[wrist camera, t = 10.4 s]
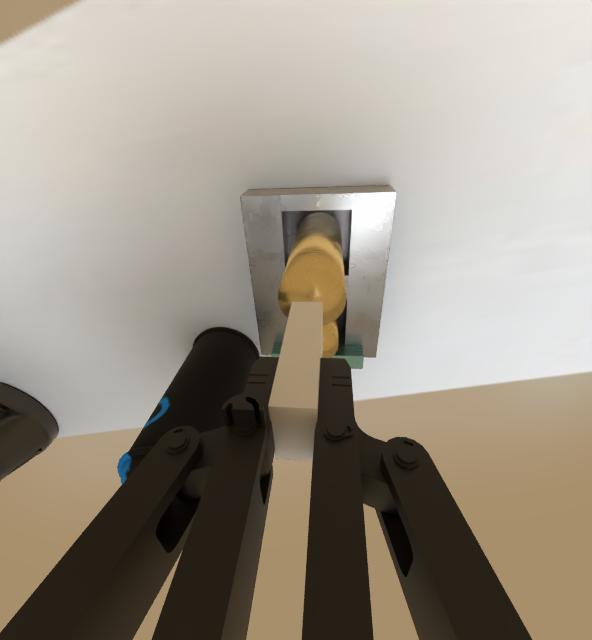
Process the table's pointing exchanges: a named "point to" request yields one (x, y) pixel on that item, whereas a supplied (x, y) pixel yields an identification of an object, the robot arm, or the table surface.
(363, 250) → the jig
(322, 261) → the brass rod
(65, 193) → the table surface
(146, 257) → the table surface
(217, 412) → the aerosol can
